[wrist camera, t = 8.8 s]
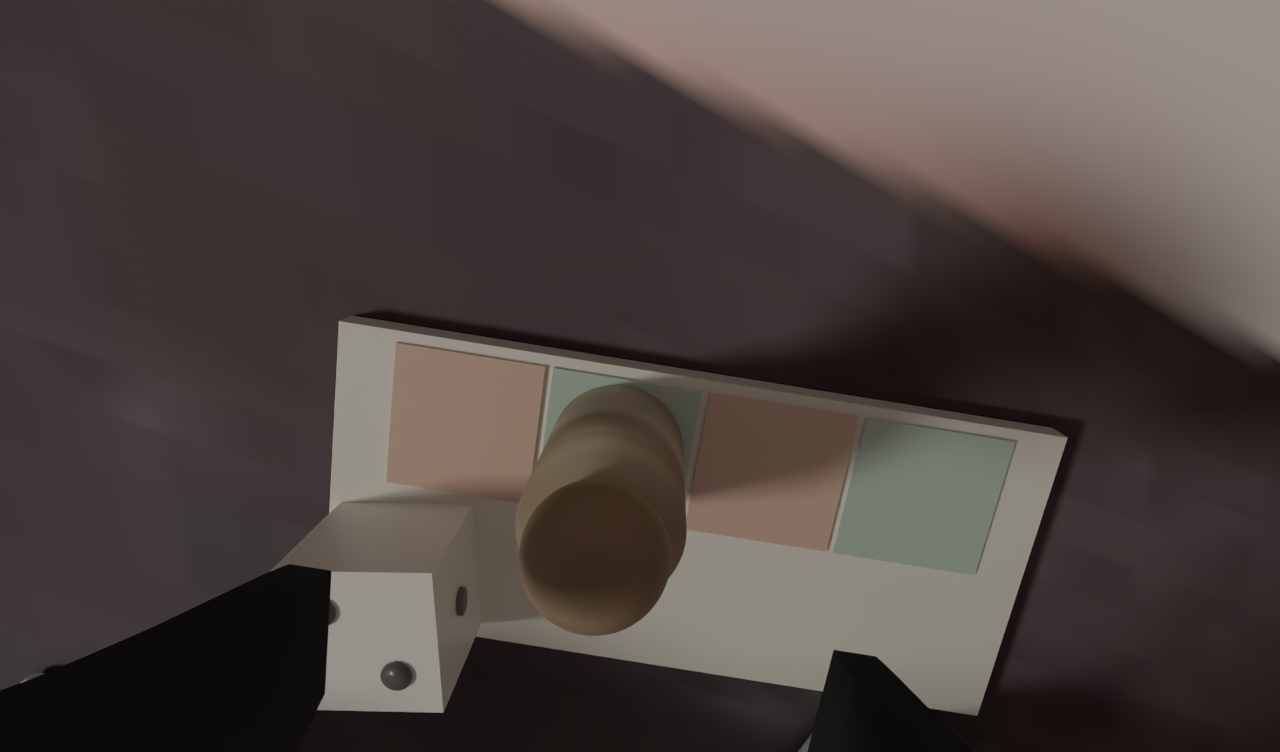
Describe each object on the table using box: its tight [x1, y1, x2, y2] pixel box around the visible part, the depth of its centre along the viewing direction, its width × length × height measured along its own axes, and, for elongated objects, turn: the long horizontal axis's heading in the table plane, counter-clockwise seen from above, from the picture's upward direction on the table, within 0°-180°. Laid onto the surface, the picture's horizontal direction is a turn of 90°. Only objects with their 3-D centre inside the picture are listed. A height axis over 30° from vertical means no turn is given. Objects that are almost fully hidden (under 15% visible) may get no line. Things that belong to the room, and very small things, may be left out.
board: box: [329, 316, 1068, 716], centre depth 20 cm, size 8×19×1 cm, turn 81°
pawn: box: [515, 385, 687, 636], centre depth 16 cm, size 3×3×7 cm
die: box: [271, 502, 481, 713], centre depth 18 cm, size 4×4×4 cm
